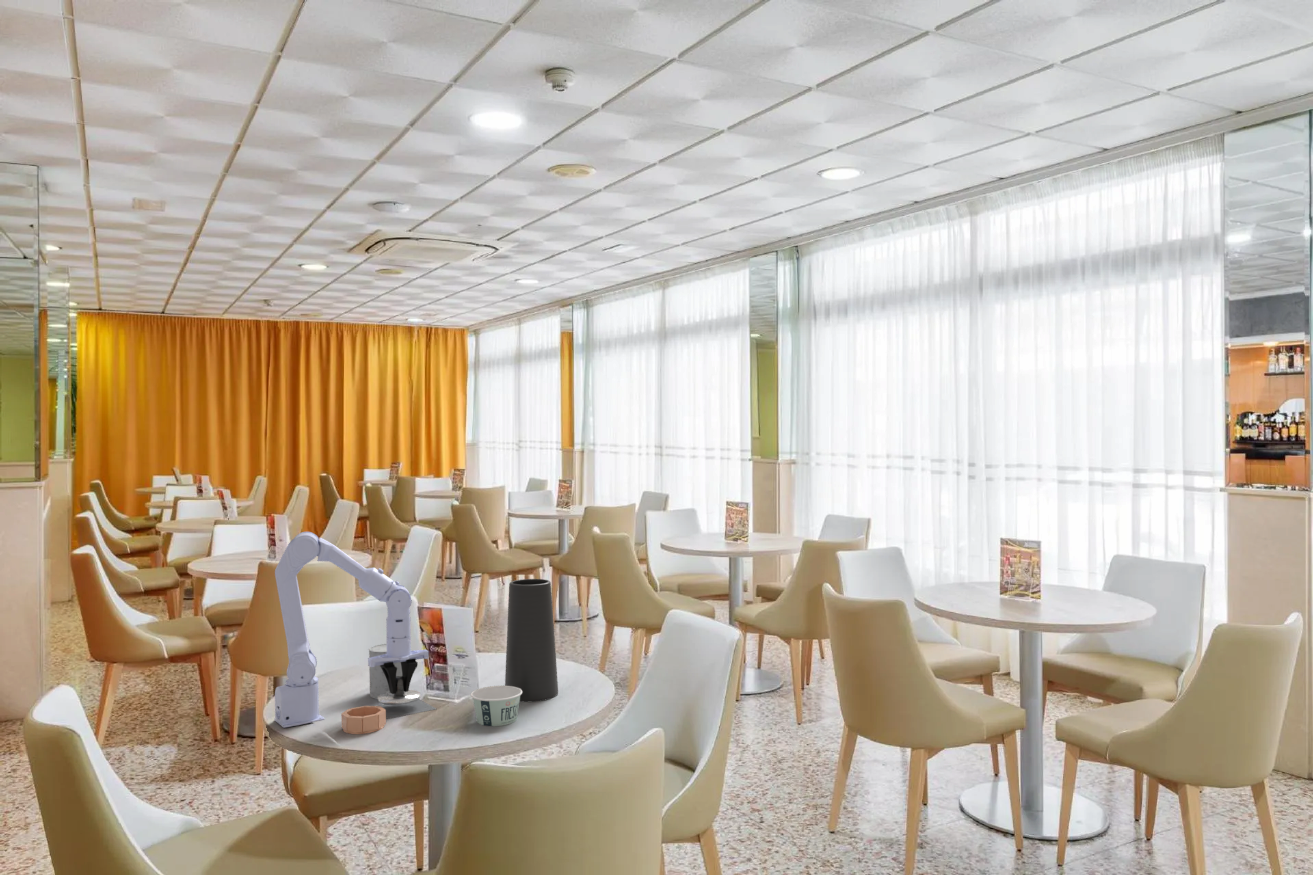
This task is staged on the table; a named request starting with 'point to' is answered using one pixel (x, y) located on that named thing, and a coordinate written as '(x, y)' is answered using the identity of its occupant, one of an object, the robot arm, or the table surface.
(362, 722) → the bowl
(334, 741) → the table surface
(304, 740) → the table surface
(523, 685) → the vase
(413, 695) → the lid
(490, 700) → the food container
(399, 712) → the mat
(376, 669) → the grey concrete cylinder
